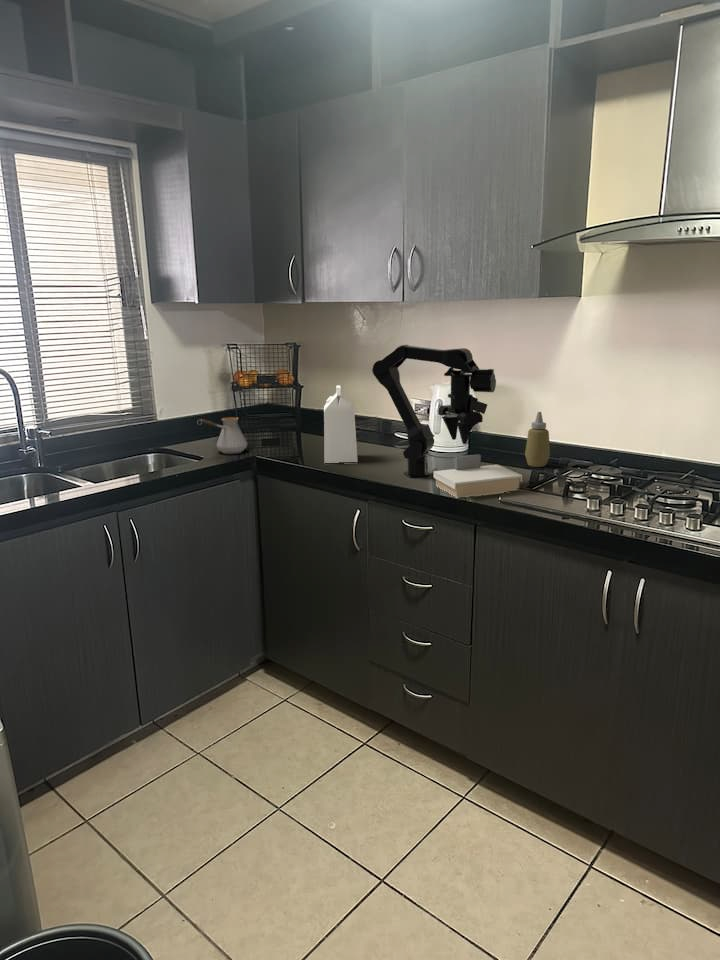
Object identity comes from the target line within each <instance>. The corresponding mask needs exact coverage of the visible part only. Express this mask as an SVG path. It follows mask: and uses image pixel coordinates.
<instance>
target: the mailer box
mask: <svg viewBox="0 0 720 960" xmlns="http://www.w3.org/2000/svg"><path fill="white" fill-rule="evenodd" d="M436 486H437V487H436ZM435 487H436V488H438V487H439V488H440V490H441V489H442V490H441V491H443V490H444V491H443V492H445V491H446V492H448V493H449V495H450V494H451V495H450V496H452V495H453V496H455V497H456V498H455V497H454V498H455V499H457V498H458V499H460V498H459V497H466V498H470V497H469V496H474V497H482V495H483V496H489V495H490V496H491V495H497V494H498V495H499V494H505V493H504V492H507V491H510V490H512V489H516V488H519V489H520V481H519V478H511V479H502V480H494V481H485V482H476V483H467V484H459V485H456V489H453V488H451V487H449V486H448V485H446V484H444V483H442V482H441V481H439V480H437V479H435ZM439 488H438V489H439ZM446 492H445V493H446ZM448 493H447V494H448ZM507 493H508V492H507ZM453 496H452V497H453Z"/></svg>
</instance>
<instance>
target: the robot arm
mask: <svg viewBox="0 0 720 960" xmlns="http://www.w3.org/2000/svg"><path fill="white" fill-rule="evenodd" d="M407 359H409V360H415V361H416V360H417V361H422V362H430V363H438V364H441V365H443V366H445V367H448V370H447V371H446V372H445V373H443V375H444V376H445V377H450V393H448V394H447V398H448V399H450V404H446V405H440V406H439V408H438V411H437V412H438V414H437V415H439V416H441V419H442V420H443V422H444V424H445V427H446V428H447V430H448V433H449V435H450V438H451V439H452V440H453V441H454V440H457V434H458V432H459V434H460V435H459V436H460V440H461V442H462V444H463V445H466V444H467V443H468V440H469V438H470V434H471V432H472V430H473V428H474V426H476V425H478V424H479V423H483V420H484V419H483V417H484V416H483V415H485V413H486V411H487V407H488V405H489V404H487V403H485V402H482V401H479V400H478V399H479V398H477V397H475V396H473V394H471V392H470V391H471V390H472V391H473V392H474V393H494V392H495V390H496V385H497V379H496V376H495V369H494V368H488V369H485V368H484V369H481V368H479V367H478V364H477V363H476V362H475V360H474V359H473V354H472V352H471V351H470V349H468V348H450V349H438V348H429V347H421V346H413V345H409V344H403V345H399V346H397V348H395V350H393V351H392V352H391V353H389V354H387V355H386V356H385V357H384V358H383V359H381V360H377V361H375V362H374V364H373V366H372V369H371V370H372V371H371V372H372V374H373V376H374V377H375V378H376V380H377V382H378V383H379V384H380V385H382V386H383V387H384V388H385V389H386V390H387V392H388V395H389V396H390V399H391V400H392V403H393V405H394V406H395V408H396V410H397V412H398V414H399V416H400V419H401V420H402V422H403V424H404V426H405V428H406V432H407V433H406V434H407V441H408V444H409V446H408V447H406V449H404V450H403V451H402V454H403V456H404V459H407V471H403V475H405V474H406V476H407V477H409V478H412V479H413V478H421V477H422V478H423V477H430V474H429V473H428V472H426V455H428V454H429V452H430V450H431V449H433V447H434V444H435V438H434V437H435V434H433V432H432V430H431V427H430V425H426V426H425V425H423V423H421V422H420V420H419V418H418V415H417V414H416V411H415V409H414V408H413V406H412V403H411V402H410V400H409V398H408V396H407V394H406V392H405V389H404V388H403V386H402V383H401V377H400V376H401V375H400V371H399V367H401V365H403V363H404V362H405V361H406V360H407Z"/></svg>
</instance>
